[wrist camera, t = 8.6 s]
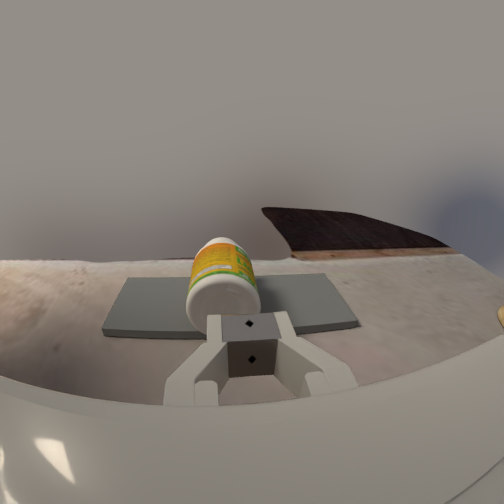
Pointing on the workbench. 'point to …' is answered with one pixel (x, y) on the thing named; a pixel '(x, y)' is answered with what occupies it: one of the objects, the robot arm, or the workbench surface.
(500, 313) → the hand bell
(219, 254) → the supplement bottle
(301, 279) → the mat
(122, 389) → the workbench surface
